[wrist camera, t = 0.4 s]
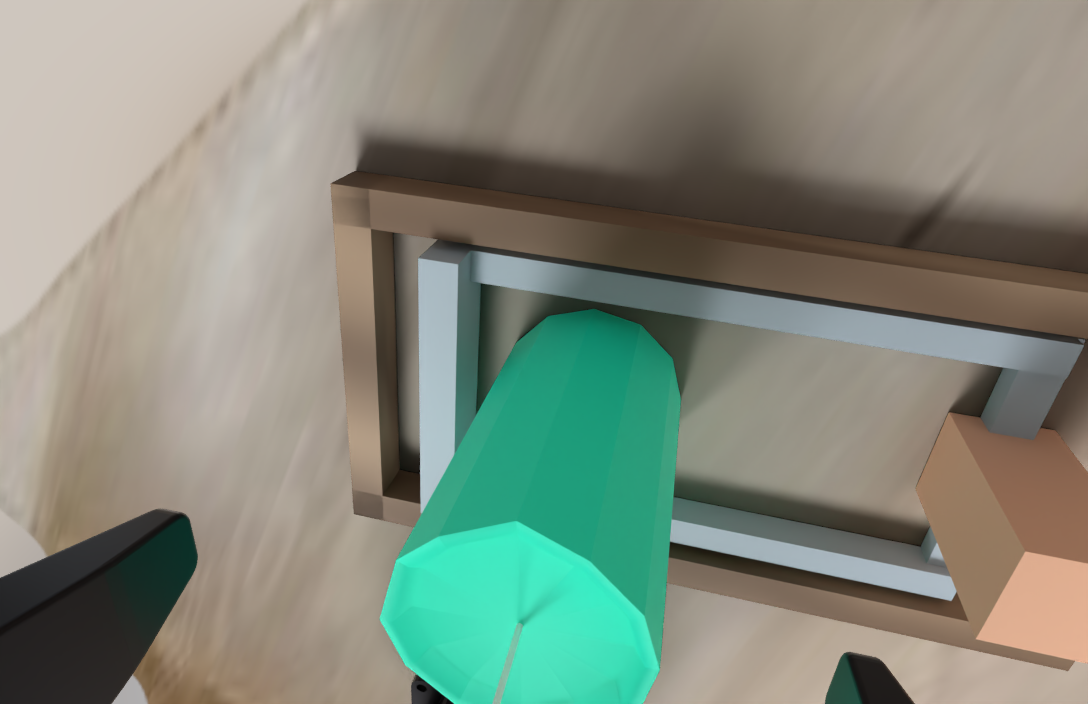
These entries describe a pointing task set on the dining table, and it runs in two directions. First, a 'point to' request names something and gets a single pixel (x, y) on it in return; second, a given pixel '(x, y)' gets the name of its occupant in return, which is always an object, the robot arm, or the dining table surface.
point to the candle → (549, 527)
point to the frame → (933, 569)
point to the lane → (688, 251)
